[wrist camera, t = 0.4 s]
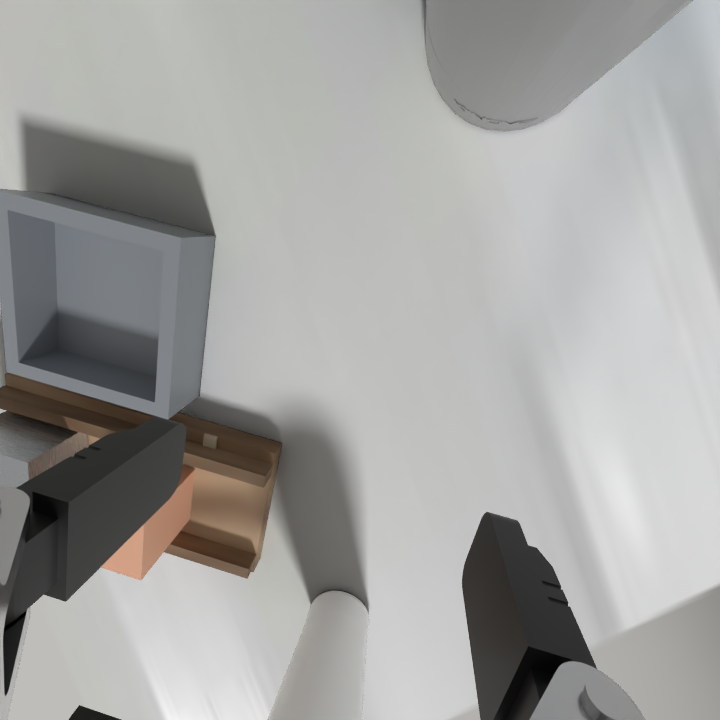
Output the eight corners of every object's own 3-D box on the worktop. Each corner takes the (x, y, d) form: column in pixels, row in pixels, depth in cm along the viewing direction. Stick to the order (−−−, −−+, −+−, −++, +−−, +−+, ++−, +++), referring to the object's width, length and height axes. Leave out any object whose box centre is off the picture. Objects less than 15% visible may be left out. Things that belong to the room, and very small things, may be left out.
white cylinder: (288, 602, 36) (201, 842, 22) (340, 568, 34) (281, 811, 20) (340, 648, 37) (289, 909, 23) (394, 618, 35) (374, 885, 21)
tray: (50, 193, 27) (-10, 188, 23) (215, 236, 26) (180, 237, 23) (56, 354, 31) (6, 372, 28) (199, 395, 30) (167, 419, 27)
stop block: (147, 455, 31) (86, 505, 26) (194, 469, 31) (144, 523, 25) (144, 505, 33) (86, 562, 27) (189, 519, 33) (140, 580, 27)
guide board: (23, 367, 32) (-15, 381, 29) (282, 443, 31) (267, 465, 28) (31, 486, 36) (-2, 508, 33) (260, 558, 35) (245, 587, 32)
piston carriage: (17, 406, 31) (-54, 437, 27) (87, 427, 31) (27, 462, 26) (23, 477, 34) (-41, 518, 29) (88, 498, 33) (33, 542, 29)
